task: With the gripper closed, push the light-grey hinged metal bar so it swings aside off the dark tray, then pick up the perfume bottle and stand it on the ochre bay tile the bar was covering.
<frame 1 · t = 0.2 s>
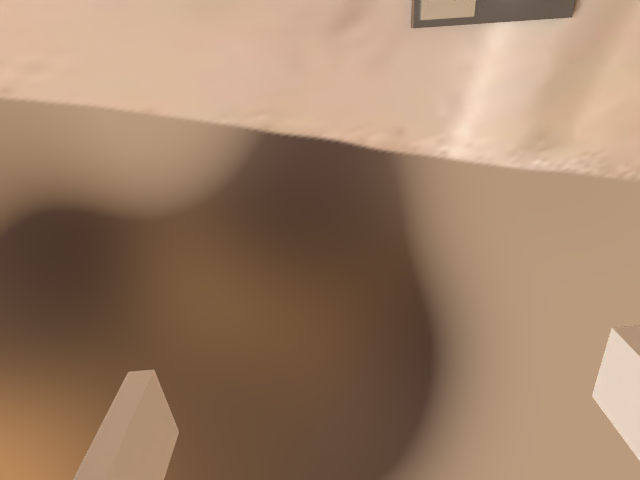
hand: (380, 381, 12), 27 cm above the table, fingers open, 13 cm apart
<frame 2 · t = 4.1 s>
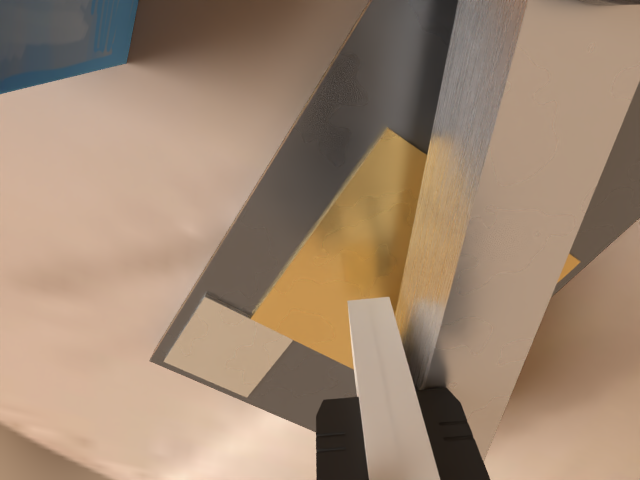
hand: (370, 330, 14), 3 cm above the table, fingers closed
tray: (417, 228, 16), on the table
swing arm: (470, 291, 12), point 5 cm above the table, hinge at 2.3°, touching gripper
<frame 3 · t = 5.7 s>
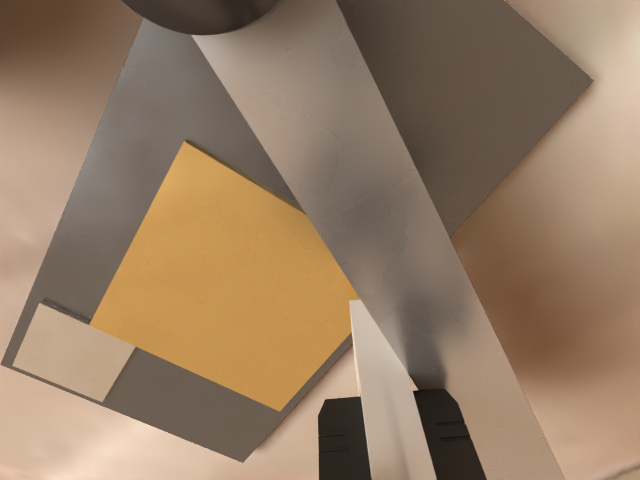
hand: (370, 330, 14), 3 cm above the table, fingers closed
tray: (246, 238, 16), on the table
swing arm: (411, 271, 11), point 5 cm above the table, hinge at 36.7°, touching gripper
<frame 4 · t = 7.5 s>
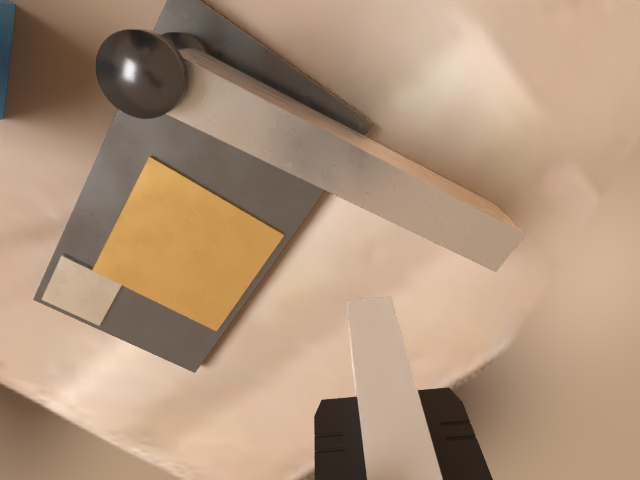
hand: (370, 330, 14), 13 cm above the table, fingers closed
tray: (190, 214, 27), on the table
swing arm: (331, 156, 20), point 5 cm above the table, hinge at 70.3°
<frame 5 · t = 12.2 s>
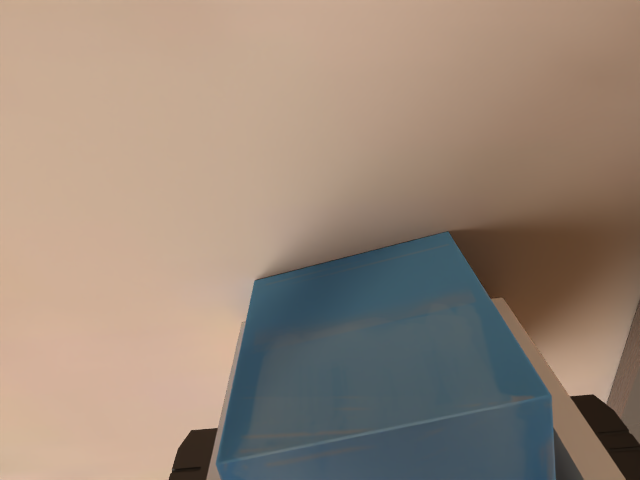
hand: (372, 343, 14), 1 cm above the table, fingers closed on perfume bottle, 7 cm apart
perfume bottle: (370, 327, 15), on the table, touching gripper
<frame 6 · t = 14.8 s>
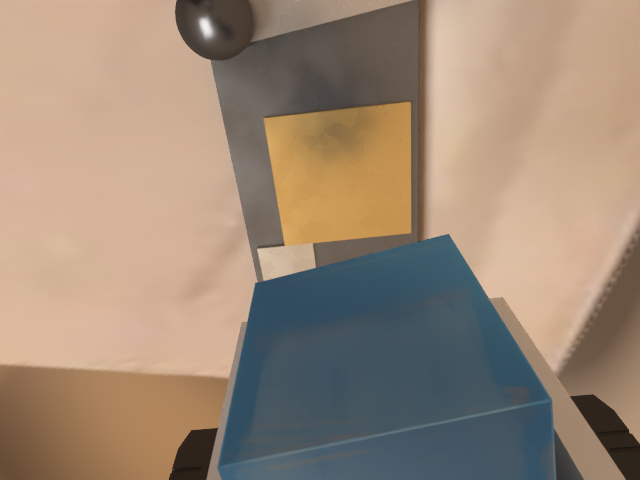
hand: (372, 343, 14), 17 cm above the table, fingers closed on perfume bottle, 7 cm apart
tray: (324, 147, 28), on the table
perfume bottle: (370, 329, 15), point 16 cm above the table, touching gripper
when the fingers open (3 cm above the table, at t = 17.5 s): perfume bottle drops 1 cm, resting on tray.
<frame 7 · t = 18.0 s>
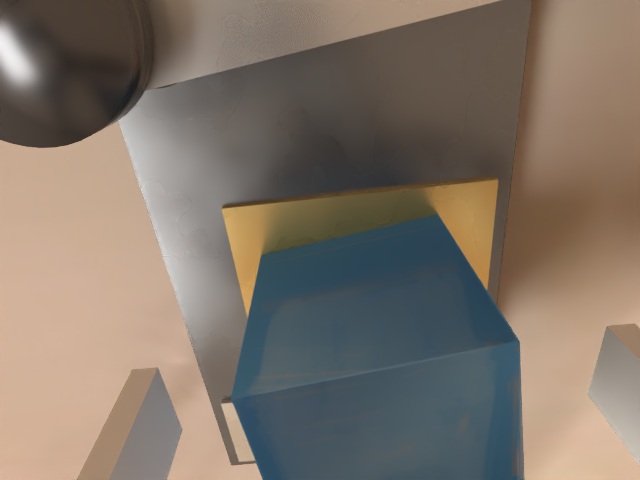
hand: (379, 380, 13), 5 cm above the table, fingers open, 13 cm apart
tray: (333, 249, 16), on the table
perfume bottle: (364, 302, 16), point 1 cm above the table, touching tray
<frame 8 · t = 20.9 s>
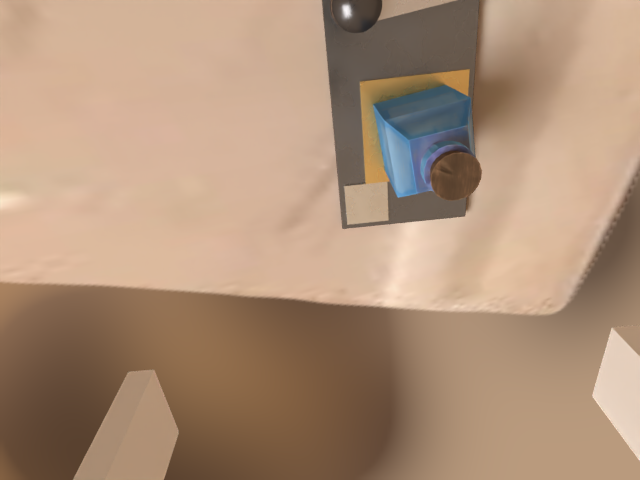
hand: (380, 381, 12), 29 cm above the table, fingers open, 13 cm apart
tray: (400, 105, 37), on the table
perfume bottle: (413, 129, 37), point 1 cm above the table, touching tray
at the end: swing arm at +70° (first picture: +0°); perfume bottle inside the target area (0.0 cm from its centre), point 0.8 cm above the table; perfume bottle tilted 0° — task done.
